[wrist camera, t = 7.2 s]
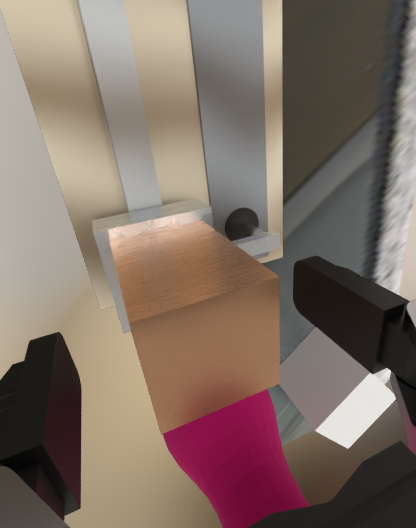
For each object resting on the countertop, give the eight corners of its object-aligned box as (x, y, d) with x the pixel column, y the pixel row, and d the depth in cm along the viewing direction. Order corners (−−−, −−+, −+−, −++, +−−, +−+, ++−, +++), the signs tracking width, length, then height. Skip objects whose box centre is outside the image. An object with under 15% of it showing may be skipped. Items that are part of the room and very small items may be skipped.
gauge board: (-80, -246, 9) (-470, -1154, 3) (261, -183, 12) (449, -521, 6) (99, 297, 18) (108, 388, 11) (270, 249, 21) (351, 299, 15)
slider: (91, 218, 13) (100, 312, 6) (255, 184, 16) (394, 225, 9) (118, 308, 16) (147, 452, 9) (258, 267, 18) (372, 353, 11)
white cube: (270, 374, 27) (314, 430, 22) (315, 325, 26) (370, 371, 21) (303, 395, 30) (348, 449, 25) (343, 352, 30) (397, 397, 24)
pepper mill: (183, 415, 24) (412, 1062, 7) (127, 372, 21) (327, 1477, 4) (250, 360, 25) (614, 852, 8) (207, 307, 21) (723, 1033, 4)
